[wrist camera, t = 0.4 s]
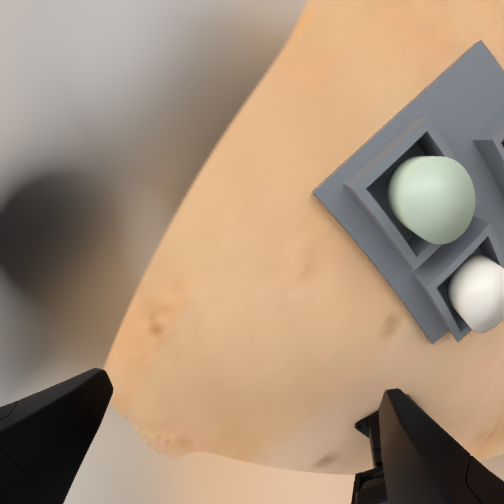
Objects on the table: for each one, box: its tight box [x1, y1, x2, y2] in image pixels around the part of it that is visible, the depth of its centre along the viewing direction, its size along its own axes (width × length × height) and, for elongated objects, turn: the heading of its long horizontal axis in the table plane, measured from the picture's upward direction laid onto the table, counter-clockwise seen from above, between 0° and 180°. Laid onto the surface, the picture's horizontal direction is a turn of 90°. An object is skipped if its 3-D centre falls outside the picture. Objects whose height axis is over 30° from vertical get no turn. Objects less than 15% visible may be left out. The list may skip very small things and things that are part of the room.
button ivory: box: [448, 254, 504, 333], centre depth 14 cm, size 4×4×3 cm
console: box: [312, 40, 504, 344], centre depth 14 cm, size 16×20×4 cm
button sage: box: [387, 156, 475, 244], centre depth 13 cm, size 4×4×3 cm
